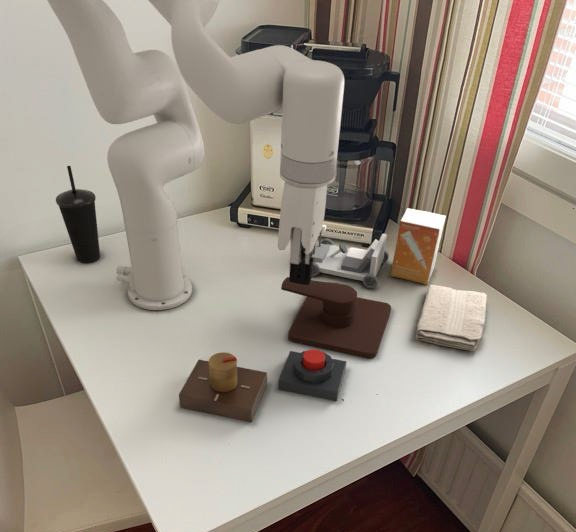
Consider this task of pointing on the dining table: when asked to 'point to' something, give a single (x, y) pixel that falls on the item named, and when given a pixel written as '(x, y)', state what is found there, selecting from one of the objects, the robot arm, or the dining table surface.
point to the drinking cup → (80, 221)
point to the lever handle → (338, 319)
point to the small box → (417, 245)
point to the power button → (313, 359)
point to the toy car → (350, 260)
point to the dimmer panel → (224, 393)
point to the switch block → (312, 377)
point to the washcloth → (452, 317)
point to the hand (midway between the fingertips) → (300, 280)
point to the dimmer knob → (223, 372)
